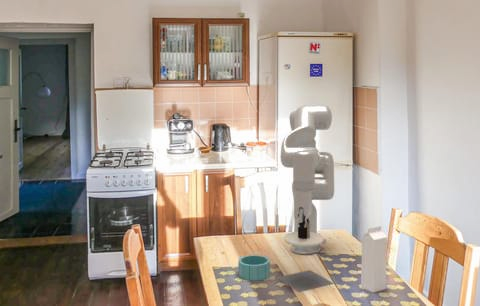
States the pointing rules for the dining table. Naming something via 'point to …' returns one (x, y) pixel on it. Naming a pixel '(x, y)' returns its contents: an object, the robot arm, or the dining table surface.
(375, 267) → the milk
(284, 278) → the mat
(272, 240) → the dining table surface
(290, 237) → the lid
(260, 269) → the bowl
